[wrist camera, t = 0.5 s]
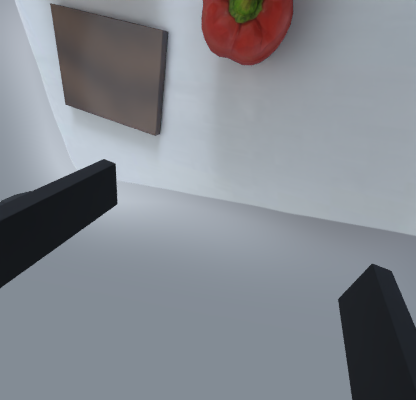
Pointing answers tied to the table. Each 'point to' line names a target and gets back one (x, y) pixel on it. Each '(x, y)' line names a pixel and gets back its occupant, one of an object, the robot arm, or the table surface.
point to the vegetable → (245, 27)
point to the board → (111, 67)
